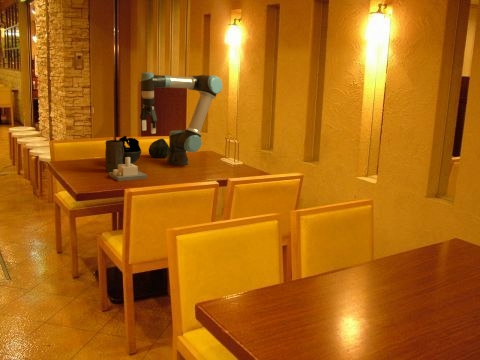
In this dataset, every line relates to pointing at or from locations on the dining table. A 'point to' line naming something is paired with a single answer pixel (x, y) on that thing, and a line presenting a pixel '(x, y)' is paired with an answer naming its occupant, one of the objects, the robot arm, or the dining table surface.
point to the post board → (129, 177)
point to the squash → (159, 149)
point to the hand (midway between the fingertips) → (148, 131)
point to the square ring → (126, 170)
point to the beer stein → (113, 154)
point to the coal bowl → (131, 149)
